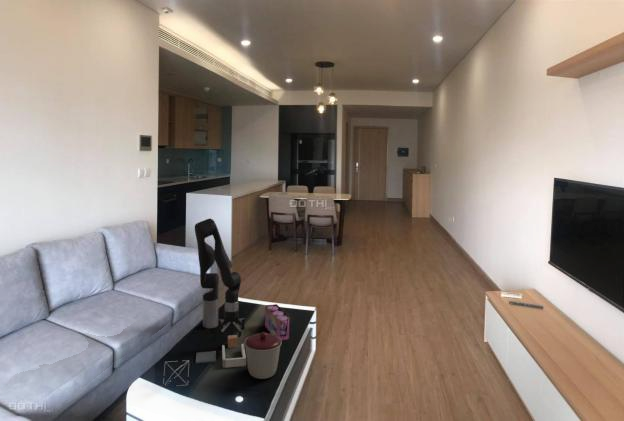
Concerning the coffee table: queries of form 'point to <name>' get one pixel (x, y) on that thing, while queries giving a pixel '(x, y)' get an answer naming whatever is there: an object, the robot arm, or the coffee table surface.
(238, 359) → the grey arch handle
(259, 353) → the canister
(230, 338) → the terracotta block
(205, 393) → the coffee table surface
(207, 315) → the robot arm
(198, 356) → the slate coaster
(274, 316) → the gum box
